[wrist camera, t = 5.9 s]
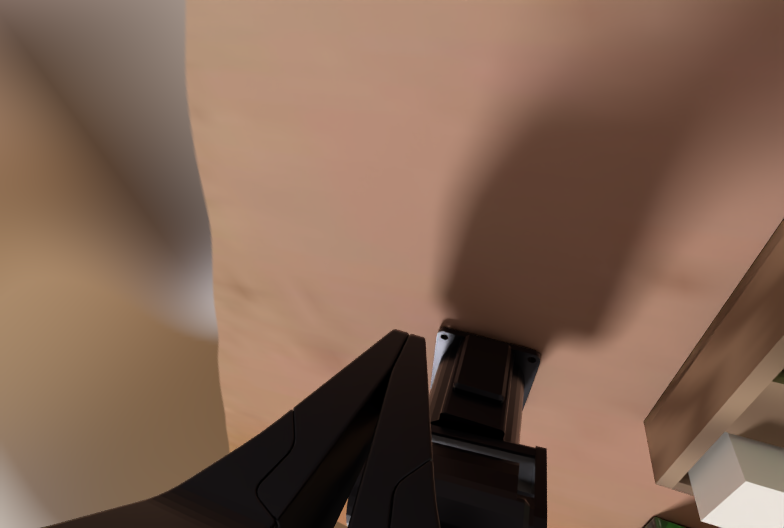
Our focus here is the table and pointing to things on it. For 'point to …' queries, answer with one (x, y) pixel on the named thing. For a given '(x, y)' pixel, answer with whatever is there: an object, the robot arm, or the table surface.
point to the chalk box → (661, 524)
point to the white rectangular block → (740, 484)
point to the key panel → (727, 377)
